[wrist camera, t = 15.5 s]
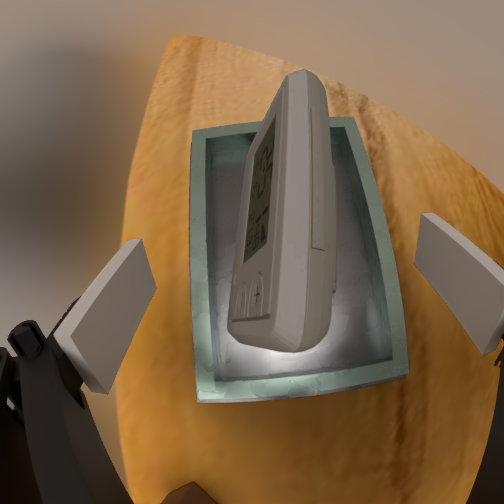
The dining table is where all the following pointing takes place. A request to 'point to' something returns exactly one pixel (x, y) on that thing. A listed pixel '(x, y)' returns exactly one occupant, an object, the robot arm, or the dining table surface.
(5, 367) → the robot arm
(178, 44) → the dining table surface
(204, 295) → the keeper tray
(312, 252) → the digital clock
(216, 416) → the dining table surface
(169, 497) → the wooden block
